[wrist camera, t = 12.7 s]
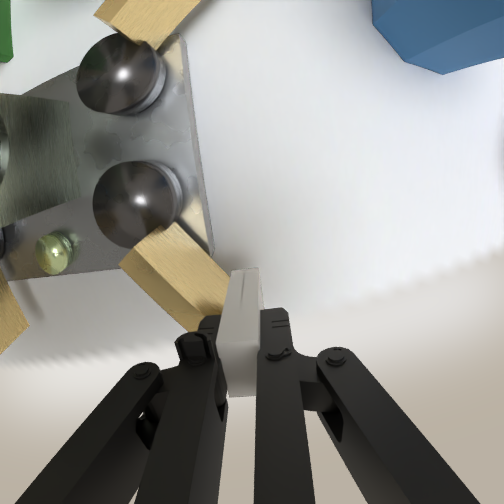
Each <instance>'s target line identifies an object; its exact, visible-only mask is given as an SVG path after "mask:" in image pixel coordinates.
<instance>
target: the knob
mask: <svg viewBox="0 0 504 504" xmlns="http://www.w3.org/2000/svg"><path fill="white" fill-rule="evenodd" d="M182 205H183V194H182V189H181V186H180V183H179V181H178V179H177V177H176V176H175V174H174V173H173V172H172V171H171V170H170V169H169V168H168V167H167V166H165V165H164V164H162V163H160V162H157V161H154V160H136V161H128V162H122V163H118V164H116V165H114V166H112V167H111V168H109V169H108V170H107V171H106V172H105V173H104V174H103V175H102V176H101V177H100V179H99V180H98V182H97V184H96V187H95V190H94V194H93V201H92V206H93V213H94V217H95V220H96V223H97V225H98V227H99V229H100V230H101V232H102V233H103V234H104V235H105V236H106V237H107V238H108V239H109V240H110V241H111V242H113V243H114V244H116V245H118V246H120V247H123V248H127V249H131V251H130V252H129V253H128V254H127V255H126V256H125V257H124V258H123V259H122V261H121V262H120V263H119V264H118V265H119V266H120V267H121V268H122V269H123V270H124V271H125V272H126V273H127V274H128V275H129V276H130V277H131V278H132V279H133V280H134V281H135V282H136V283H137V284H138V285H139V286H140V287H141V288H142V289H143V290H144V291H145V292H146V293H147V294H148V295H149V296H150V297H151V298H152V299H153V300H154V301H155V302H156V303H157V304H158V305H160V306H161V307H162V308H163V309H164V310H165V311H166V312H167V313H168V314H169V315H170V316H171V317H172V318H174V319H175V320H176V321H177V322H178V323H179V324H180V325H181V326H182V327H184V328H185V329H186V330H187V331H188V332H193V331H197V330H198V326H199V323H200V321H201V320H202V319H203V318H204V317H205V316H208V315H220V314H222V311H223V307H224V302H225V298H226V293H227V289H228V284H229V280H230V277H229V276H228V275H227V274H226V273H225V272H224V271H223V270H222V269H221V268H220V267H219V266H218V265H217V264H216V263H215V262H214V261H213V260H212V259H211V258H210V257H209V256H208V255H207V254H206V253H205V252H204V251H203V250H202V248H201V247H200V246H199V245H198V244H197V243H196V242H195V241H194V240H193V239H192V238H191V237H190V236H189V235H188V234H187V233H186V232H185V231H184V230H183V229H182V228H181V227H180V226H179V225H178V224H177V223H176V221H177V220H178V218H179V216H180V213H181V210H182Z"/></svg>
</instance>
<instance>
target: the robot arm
mask: <svg viewBox="0 0 504 504" xmlns="http://www.w3.org/2000/svg"><path fill="white" fill-rule="evenodd" d="M174 343H175V346H176V349H177V352H178V355H179V358H180V362H179V365H178V366H175V367H172V368H168V369H164V370H160V369H159V367H158V366H157V365H156V364H155V363H152V362H143V363H139V364H137V365H135V366H133V367H132V368H130V369H129V370H128V371H127V372H126V373H125V375H124V376H123V377H122V378H121V379H120V380H119V382H118V383H117V384H116V385H115V386H114V387H113V388H112V389H111V391H110V392H109V393H108V394H107V395H106V396H105V398H104V399H103V400H102V401H101V402H100V404H98V406H97V407H96V408H95V409H94V410H93V411H92V413H91V414H90V415H89V416H88V417H87V418H86V420H85V421H84V422H83V423H82V424H81V426H80V427H79V428H78V429H77V430H76V431H75V432H74V434H73V435H72V436H71V437H70V438H69V440H68V441H67V442H66V443H65V444H64V445H63V446H62V448H61V449H60V450H59V451H58V452H57V454H56V455H55V456H54V457H53V458H52V459H51V461H50V462H49V463H48V464H47V465H46V467H45V468H44V469H43V470H42V472H41V473H40V474H39V475H38V476H37V477H36V479H35V480H34V481H33V482H32V483H31V485H30V486H29V487H28V488H27V489H26V491H25V492H24V493H23V494H22V495H21V497H20V498H19V499H18V500H17V502H16V503H15V504H129V502H130V500H131V499H132V497H133V496H134V494H135V492H136V491H137V489H138V488H139V489H138V492H137V496H136V499H135V502H134V504H218V495H219V485H220V476H221V467H222V458H223V450H224V440H225V432H226V423H227V414H228V403H227V399H226V394H227V391H228V394H229V397H244V396H256V429H255V472H254V473H255V474H254V504H315V496H314V487H313V479H312V471H311V463H310V455H309V447H308V440H307V432H306V425H305V417H304V410H308V411H317V414H318V416H319V418H320V420H321V422H322V424H323V425H324V427H325V429H326V431H327V433H328V434H329V436H330V438H331V440H332V441H333V443H334V445H335V447H336V449H337V451H338V452H339V454H340V456H341V457H342V459H343V461H344V463H345V465H346V466H347V468H348V470H349V471H350V473H351V475H352V477H353V479H354V480H355V482H356V484H357V486H358V487H359V489H360V491H361V493H362V494H363V496H364V498H365V500H366V501H367V503H368V504H480V503H479V502H478V500H477V499H476V498H475V497H474V495H473V494H472V493H471V492H470V491H469V489H468V488H467V487H466V486H465V484H464V483H463V482H462V481H461V480H460V478H459V477H458V476H457V475H456V474H455V472H454V471H453V470H452V469H451V468H450V466H449V465H448V464H447V463H446V462H445V460H444V459H443V458H442V457H441V456H440V454H439V453H438V452H437V451H436V450H435V448H434V447H433V446H432V445H431V444H430V443H429V441H428V440H427V439H426V438H425V436H424V435H423V434H422V433H421V432H420V431H419V429H418V428H417V427H416V426H415V425H414V423H413V422H412V421H411V420H410V419H409V418H408V416H407V415H406V414H405V413H404V412H403V410H402V409H401V408H400V407H399V406H398V405H397V403H396V402H395V401H394V400H393V399H392V397H391V396H390V395H389V394H388V393H387V392H386V391H385V389H384V388H383V387H382V386H381V385H380V383H379V382H378V381H377V380H376V379H375V378H374V376H373V375H372V374H371V373H370V372H369V371H368V369H366V367H365V366H364V365H363V364H362V362H361V361H360V360H359V359H358V358H357V357H356V355H355V354H354V353H353V352H352V351H350V350H349V349H346V348H343V347H332V348H328V349H325V350H323V351H321V352H320V353H319V354H318V356H317V357H309V356H304V355H301V354H300V353H298V352H297V351H296V350H295V349H294V347H293V342H292V336H291V329H290V323H289V316H288V312H287V311H286V310H285V309H283V308H273V309H264V304H263V296H262V289H261V281H260V273H259V267H257V268H248V269H239V270H232V271H231V275H230V280H229V284H228V289H227V293H226V298H225V302H224V307H223V311H222V314H220V315H208V316H205V317H204V318H203V319H202V320H201V321H200V323H199V326H198V330H197V331H193V332H188V333H185V334H183V335H181V336H180V337H178V338H177V339H176V341H175V342H174ZM142 412H143V415H142V416H141V417H140V418H139V416H140V415H141V414H142Z"/></svg>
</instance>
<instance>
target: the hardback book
mask: <svg viewBox="0 0 504 504" xmlns="http://www.w3.org/2000/svg"><path fill="white" fill-rule="evenodd" d="M12 58H13V47H12V35H11V10H10V0H0V61H1V62H6V63H8V62H9V61H10V60H11V59H12Z"/></svg>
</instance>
